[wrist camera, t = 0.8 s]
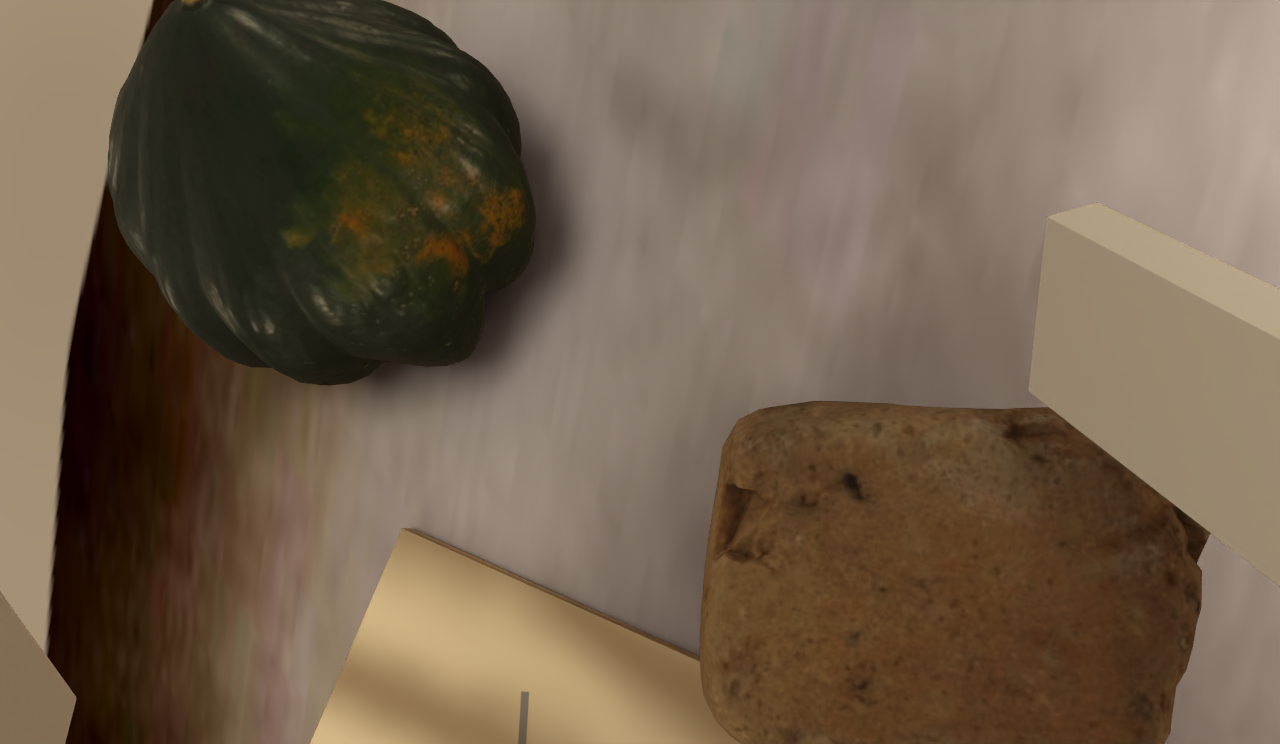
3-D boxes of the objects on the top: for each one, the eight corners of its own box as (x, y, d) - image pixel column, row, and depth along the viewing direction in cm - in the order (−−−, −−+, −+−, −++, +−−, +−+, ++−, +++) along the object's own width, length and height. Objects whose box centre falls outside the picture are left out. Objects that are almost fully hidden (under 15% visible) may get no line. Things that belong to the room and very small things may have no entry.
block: (739, 652, 35) (660, 788, 16) (750, 453, 37) (688, 354, 17) (1045, 681, 33) (1380, 878, 14) (1045, 470, 35) (1354, 380, 15)
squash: (344, 523, 33) (332, 154, 23) (63, 324, 37) (-52, -64, 27) (574, 331, 43) (636, 11, 33) (331, 190, 47) (319, -133, 37)
